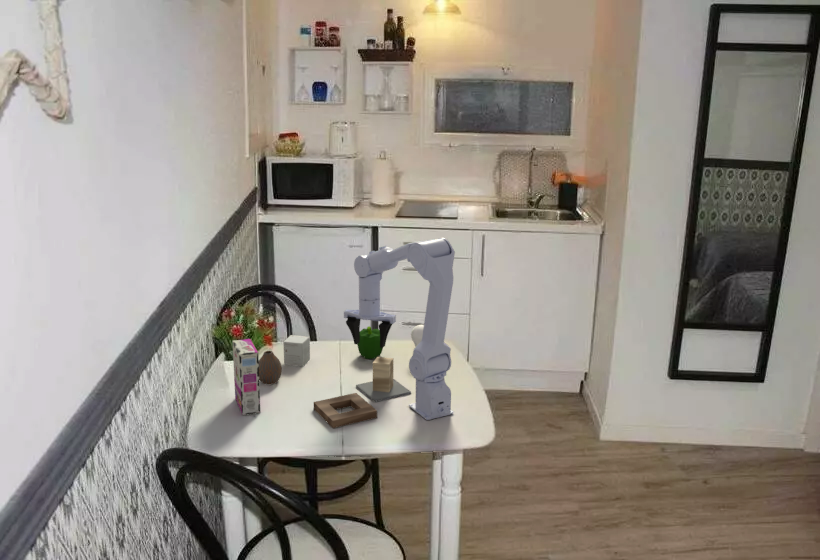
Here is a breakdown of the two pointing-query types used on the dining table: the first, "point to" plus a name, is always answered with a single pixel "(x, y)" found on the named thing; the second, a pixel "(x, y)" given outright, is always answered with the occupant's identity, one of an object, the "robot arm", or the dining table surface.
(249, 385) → the candy bar box
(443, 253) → the robot arm
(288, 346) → the product box
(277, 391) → the dining table surface
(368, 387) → the mat
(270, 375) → the vase
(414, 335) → the lightbulb
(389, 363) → the peg
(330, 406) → the holder
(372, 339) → the bell pepper
